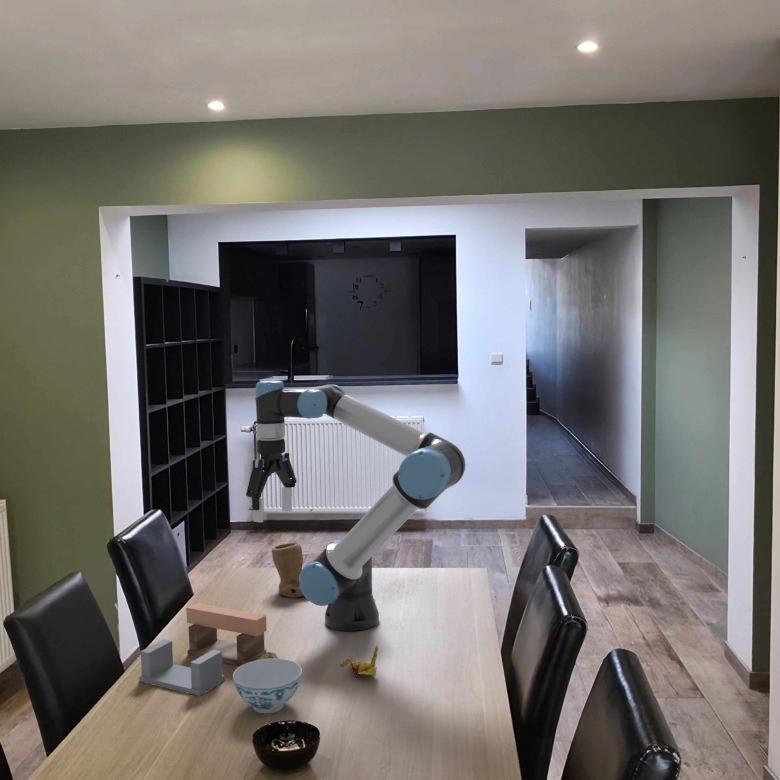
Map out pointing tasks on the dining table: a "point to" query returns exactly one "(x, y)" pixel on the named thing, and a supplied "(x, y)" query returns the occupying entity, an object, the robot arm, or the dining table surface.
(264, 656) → the mineral rock
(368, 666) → the origami crane
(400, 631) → the dining table surface
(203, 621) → the salmon pink square bar
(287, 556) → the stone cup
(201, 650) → the bronze cradle base
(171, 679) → the stand
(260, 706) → the chinaware
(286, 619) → the dining table surface
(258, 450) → the robot arm
